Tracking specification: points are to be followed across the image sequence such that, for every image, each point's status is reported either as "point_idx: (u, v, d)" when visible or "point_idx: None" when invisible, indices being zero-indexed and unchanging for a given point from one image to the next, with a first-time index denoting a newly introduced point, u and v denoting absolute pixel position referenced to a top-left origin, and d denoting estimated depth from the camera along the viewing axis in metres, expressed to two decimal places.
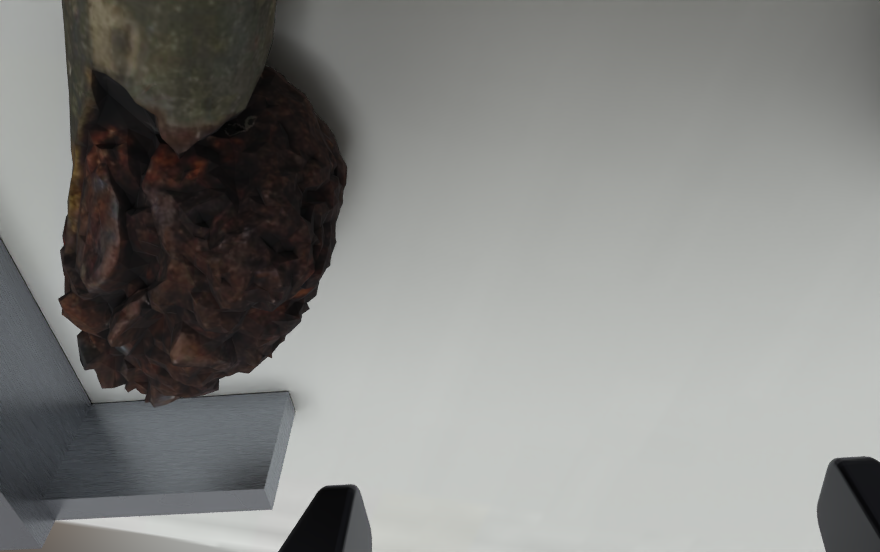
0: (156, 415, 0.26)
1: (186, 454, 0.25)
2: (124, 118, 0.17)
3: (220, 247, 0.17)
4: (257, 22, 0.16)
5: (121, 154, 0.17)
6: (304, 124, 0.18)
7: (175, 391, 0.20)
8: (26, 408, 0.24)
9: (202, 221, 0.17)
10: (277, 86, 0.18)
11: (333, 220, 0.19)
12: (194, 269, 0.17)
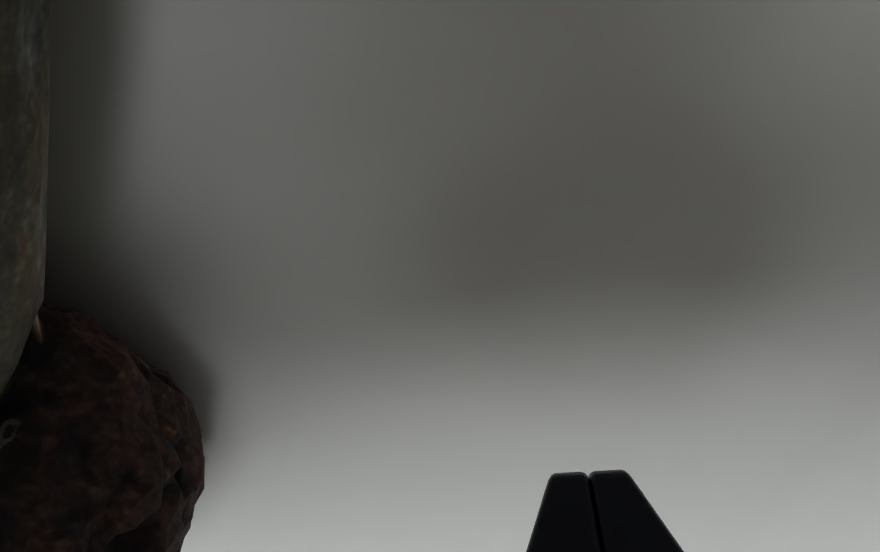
0: None
1: None
2: None
3: None
4: None
5: None
6: (112, 424, 0.10)
7: None
8: None
9: None
10: (67, 359, 0.10)
11: None
12: None
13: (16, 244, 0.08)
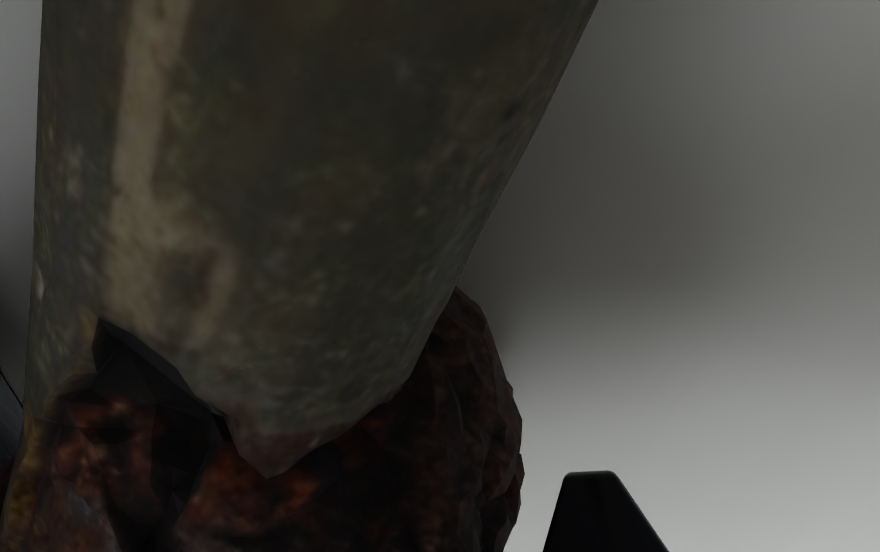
0: None
1: None
2: (151, 387, 0.08)
3: None
4: None
5: (136, 458, 0.08)
6: (488, 377, 0.09)
7: None
8: None
9: None
10: None
11: None
12: None
13: None
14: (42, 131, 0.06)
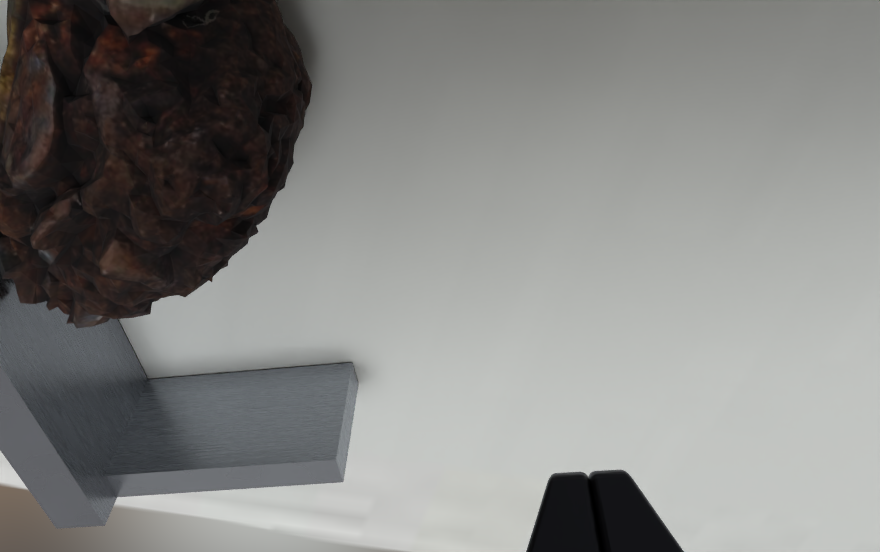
0: (216, 389, 0.25)
1: (251, 427, 0.24)
2: None
3: (165, 145, 0.15)
4: None
5: (64, 32, 0.15)
6: (270, 26, 0.17)
7: (102, 309, 0.18)
8: (87, 379, 0.23)
9: (148, 116, 0.15)
10: None
11: (292, 138, 0.18)
12: (135, 168, 0.16)
13: None
14: None
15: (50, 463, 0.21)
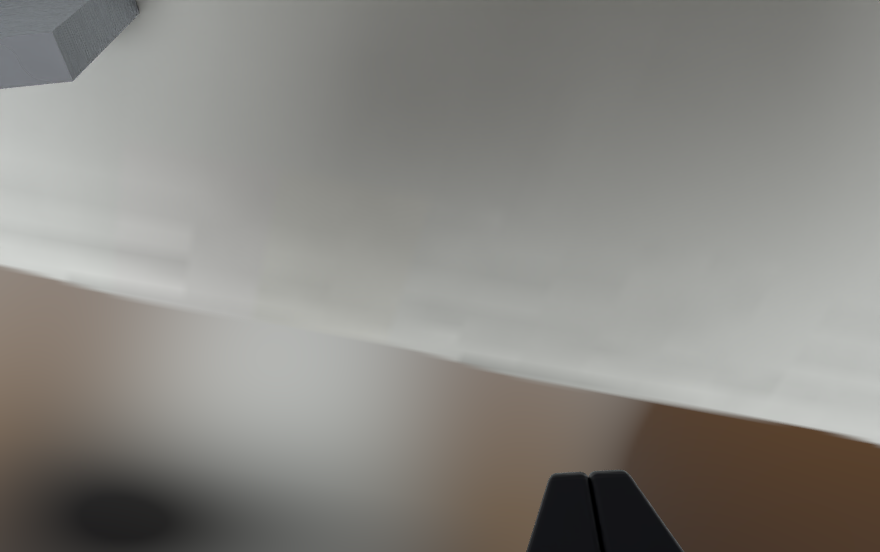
0: None
1: None
2: None
3: None
4: None
5: None
6: None
7: None
8: None
9: None
10: None
11: None
12: None
13: None
14: None
15: None
